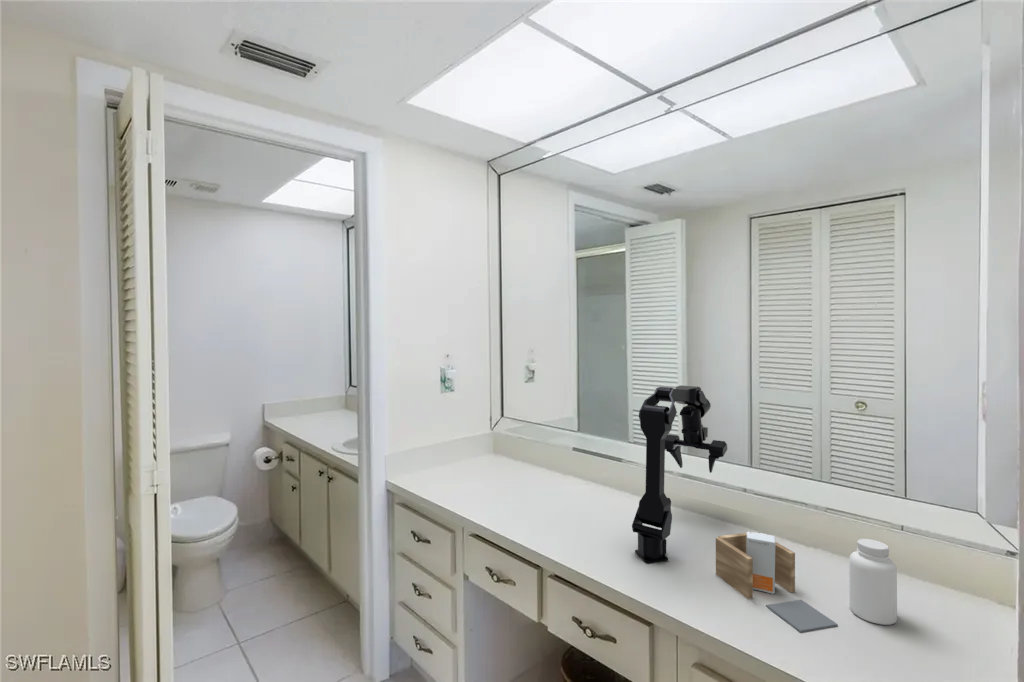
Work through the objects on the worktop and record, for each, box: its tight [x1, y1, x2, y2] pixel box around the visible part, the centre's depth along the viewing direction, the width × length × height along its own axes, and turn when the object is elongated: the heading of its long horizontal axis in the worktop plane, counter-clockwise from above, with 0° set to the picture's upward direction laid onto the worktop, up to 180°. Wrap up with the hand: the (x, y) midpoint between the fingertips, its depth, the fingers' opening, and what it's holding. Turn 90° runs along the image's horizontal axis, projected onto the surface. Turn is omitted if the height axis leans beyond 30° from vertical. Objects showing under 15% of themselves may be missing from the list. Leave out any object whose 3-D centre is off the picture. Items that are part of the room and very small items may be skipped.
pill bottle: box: [848, 538, 898, 626], centre depth 99 cm, size 8×8×15 cm
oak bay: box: [715, 532, 796, 600], centre depth 112 cm, size 12×12×9 cm
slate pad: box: [765, 599, 838, 633], centre depth 99 cm, size 9×9×1 cm
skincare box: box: [746, 531, 776, 595], centre depth 110 cm, size 6×4×12 cm
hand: (695, 469), depth 151 cm, fingers open, 9 cm apart
